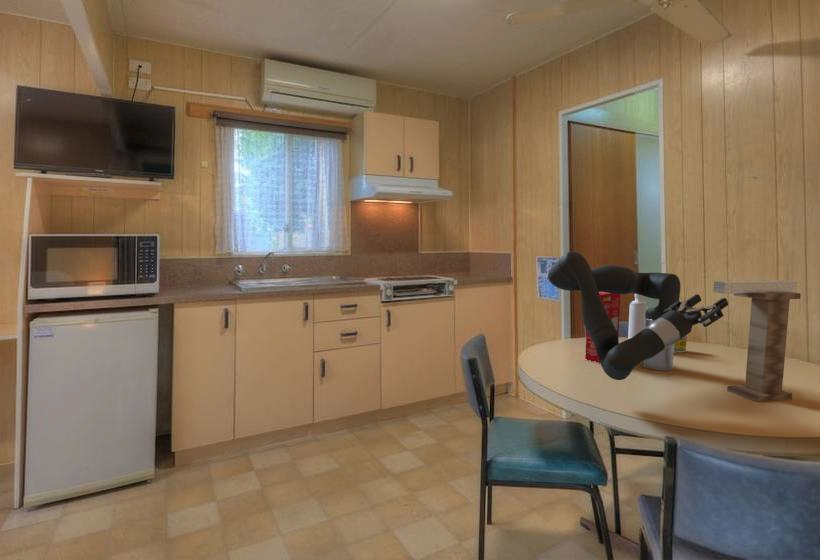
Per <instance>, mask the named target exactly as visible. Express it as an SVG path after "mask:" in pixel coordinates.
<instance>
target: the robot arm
mask: <svg viewBox="0 0 820 560" xmlns="http://www.w3.org/2000/svg"><path fill="white" fill-rule="evenodd" d="M547 278H548V280H549V281H548V282H550V284H552V285H553V286H554V287H555V288H557V289H560V290H562V291H569V292H571V291H575V292H576V291H577V292H578V291H579V292H580V298H581V299H580V300H581V318H582V323H583V326H584V329H586V330H587V332H588V333H589V335H590V337H591V339H592V341H593V343H594V345H595V348H596V352H597V355H598V358H599V361H600V363H599V364H600V366H601V369H603V371H604V373H605V374H606V376H608V377H609V378H611V379H612V380H614V381H623V380H625V379H627V378H628V377H629V376H630V375H631V373H632V371H633V370H634V369H635V367H637V366H638V365H639V364H640V363H641V365H642V368H643V369H645V368H646V369H649V370H654V371H655V370H656V371H665V372H666V371H672V370H673V367H674V353H675V352H674V343H676V342H677V341H679V340H680V339H682V338H683V337H685V336H686V335H687V336H688V335H689V334H690V333H691V331H692V330H693V326H695V325H697V324H702V326H703V327H704V328H706V327H708V326H711V325H712V324H714V323H715V322H717V321H718V320H720V319H721V318H723V317H724V313H723V311H722V310H724V308H727V306H729V302H728V299H727V297H721V298H720V299H718V300H717V301H715V302H714V303H713V304H712V305H707V306H704V305H703V306H699V307H694V306H696V305H697V304H699V303H700V302H701V301H702V298H701V296H700V294H699V293H698V294H697V293H696V294H694V295H692V296H691V297H689V298H687V300H682V301H680V297H681V296H680V295H681V289H682V288H681V279H680V278H679V276H677V274H675V273H666V272H636V271H634V270H633V269H631V268H629V267H625V266H620V265H615V264H606V265H602V266H597V267H594V268H591V266H590V264H589V262H588V261H587V259H586V258H585V257H584V256H583V255H582V254H581V253H579V252H577V251H572V250H571V251H568V252H565V253H564V254H563V255H562V256H561V257H560V258H559V259H558V260H557V261H556V262H555V263H554V264H553V265H552V266H551V267H550V269H549V271H548V273H547ZM599 292H607V293H613V294H620V295H628V294H634V295H635V294H639V295H642V296H644V298H645V297H646V298H649V299H654V300H658V303H657V305H656V306H655V307H653V308H648V310H646V312H645V328H644V329H643V330H642V331H640V332H639V333H637V334H636V335H635V336H633V337H632V338H630V339H628V338H627V339H626V340H623V341H622V342H620V341H619V339H620V338H619V336H618V332H617V330H616V328H615V326H614V324H613V323H612V321H611V319H610V317H609V315H608V314H607V312H606V310H605V307H604V305H603V303H602V300H601V297H600V294H599ZM701 311H702V312H703V313H704V314H702V312H701Z"/></svg>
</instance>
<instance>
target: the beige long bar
mask: <svg viewBox="0 0 820 560" xmlns="http://www.w3.org/2000/svg"><path fill="white" fill-rule="evenodd" d="M797 286H798V281H795V280H785V279H783V280H735V281H734V280H730V281H729V280H728V281H727V280H725V281H724V280H723V281H722V280H719V281H713V288H712V290H713V291H712V293H717V294H724V295H726V294H728V295H729V294H734V293H778V292H793V293H797V290H798V289H797Z"/></svg>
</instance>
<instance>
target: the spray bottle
mask: <svg viewBox="0 0 820 560" xmlns="http://www.w3.org/2000/svg"><path fill="white" fill-rule="evenodd" d="M633 296H634V300H632V301H631V302H629V313H628V333H627V340H628V339H630V338H632V337H633V336H635V335H636V334H637V333H639V332H640V331H642V330H643V329H644V328H645V312H646V310H648V309H649V303H647V301H644V298H645V296H642V295H639V294H635V293H634V295H633Z"/></svg>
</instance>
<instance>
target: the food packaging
mask: <svg viewBox="0 0 820 560" xmlns="http://www.w3.org/2000/svg"><path fill="white" fill-rule="evenodd" d="M599 294H600V297H601V300H602V303H603V305H604V307H605V310H606V312H607V314H608V315H609V317H610V319H611V321H612V323H613V324H614V326H615V328H616V330H617V332H618V336H619V332H620V330H619V329H620V315H621V313H620V309H621V294H613V293H607V292H599ZM585 337H586V338H585V359H587V360H591V361H590V362H592V361H596V362H595V363H597V362H600V361H599V358H598V355H597V352H596V348H595V345H594V343H593V341H592V339H591V337H590V335H589V333H588V332H587V330H586V336H585ZM585 359H584V360H585ZM587 360H586V361H587Z"/></svg>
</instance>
